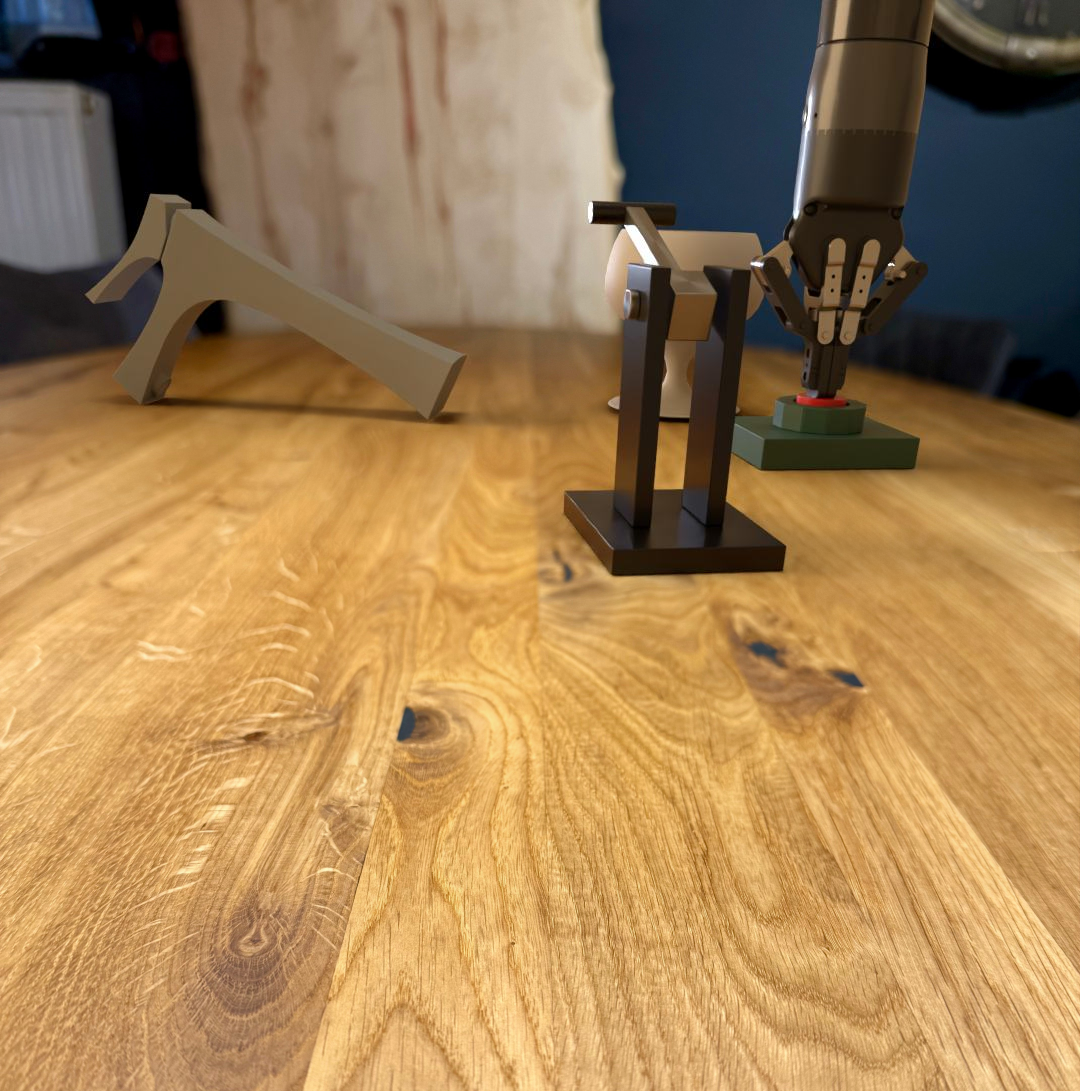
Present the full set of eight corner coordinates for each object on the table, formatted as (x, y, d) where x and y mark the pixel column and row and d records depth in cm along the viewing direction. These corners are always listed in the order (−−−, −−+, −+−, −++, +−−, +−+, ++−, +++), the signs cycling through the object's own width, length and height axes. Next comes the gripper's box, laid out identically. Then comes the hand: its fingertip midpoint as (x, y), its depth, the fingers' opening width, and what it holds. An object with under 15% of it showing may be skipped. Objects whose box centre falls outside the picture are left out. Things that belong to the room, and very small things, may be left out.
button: (830, 416, 79) (834, 392, 78) (851, 424, 76) (855, 400, 75) (786, 416, 79) (789, 392, 78) (805, 424, 75) (809, 400, 75)
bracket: (563, 512, 61) (573, 258, 55) (707, 509, 63) (733, 262, 57) (611, 575, 51) (631, 270, 45) (783, 570, 52) (824, 275, 46)
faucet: (393, 517, 96) (98, 357, 94) (469, 352, 89) (151, 172, 86) (374, 536, 91) (61, 365, 88) (454, 360, 83) (114, 169, 81)
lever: (585, 229, 61) (591, 186, 59) (667, 232, 61) (674, 189, 60) (639, 340, 51) (647, 292, 49) (734, 341, 52) (746, 294, 50)
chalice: (571, 401, 98) (579, 226, 92) (696, 396, 104) (711, 231, 97) (645, 427, 87) (660, 230, 80) (781, 420, 92) (805, 235, 86)
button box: (859, 443, 84) (868, 392, 82) (915, 468, 76) (925, 412, 74) (718, 444, 81) (724, 392, 80) (760, 470, 74) (767, 412, 72)
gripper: (788, 118, 65) (754, 404, 72) (980, 129, 67) (927, 405, 74) (746, 127, 71) (718, 388, 79) (922, 136, 73) (879, 389, 81)
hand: (820, 396), depth 77 cm, fingers closed
